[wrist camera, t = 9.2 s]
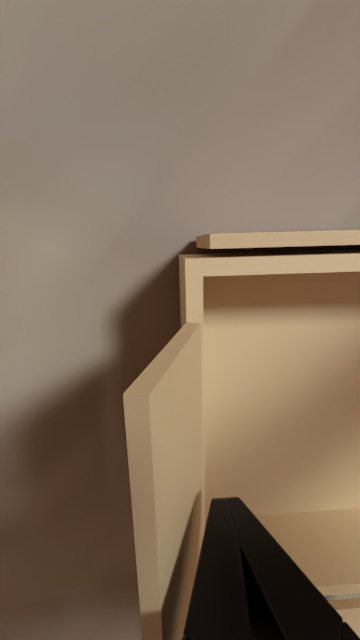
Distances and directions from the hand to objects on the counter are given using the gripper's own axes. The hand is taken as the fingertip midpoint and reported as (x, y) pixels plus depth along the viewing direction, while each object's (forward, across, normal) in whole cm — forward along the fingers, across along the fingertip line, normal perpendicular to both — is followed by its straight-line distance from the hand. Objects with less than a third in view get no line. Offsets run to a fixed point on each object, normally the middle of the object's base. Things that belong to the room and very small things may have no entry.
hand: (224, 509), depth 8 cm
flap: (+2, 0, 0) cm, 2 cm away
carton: (+6, -6, 0) cm, 8 cm away
